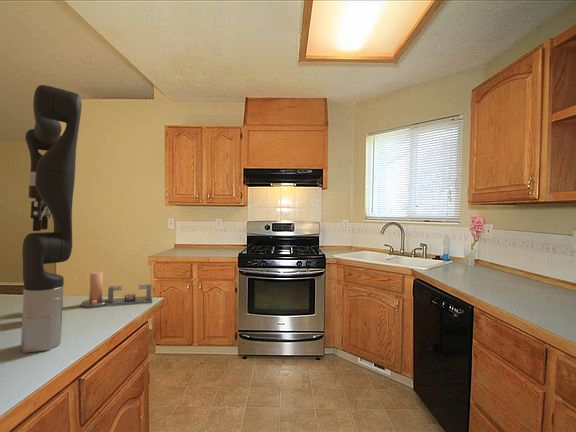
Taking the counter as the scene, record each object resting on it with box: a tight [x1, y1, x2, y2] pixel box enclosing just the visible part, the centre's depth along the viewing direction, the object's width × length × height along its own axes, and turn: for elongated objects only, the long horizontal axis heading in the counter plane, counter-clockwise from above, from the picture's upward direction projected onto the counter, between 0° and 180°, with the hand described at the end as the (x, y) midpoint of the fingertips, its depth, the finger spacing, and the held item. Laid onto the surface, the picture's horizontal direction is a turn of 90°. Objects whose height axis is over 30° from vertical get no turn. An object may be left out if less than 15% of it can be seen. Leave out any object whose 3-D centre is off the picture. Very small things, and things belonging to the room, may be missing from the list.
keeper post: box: [105, 283, 153, 307], centre depth 137 cm, size 8×18×7 cm, turn 116°
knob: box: [88, 271, 104, 305], centre depth 131 cm, size 5×9×12 cm, turn 26°
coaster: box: [81, 297, 108, 309], centre depth 132 cm, size 10×10×1 cm
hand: (40, 230), depth 112 cm, fingers open, 8 cm apart
